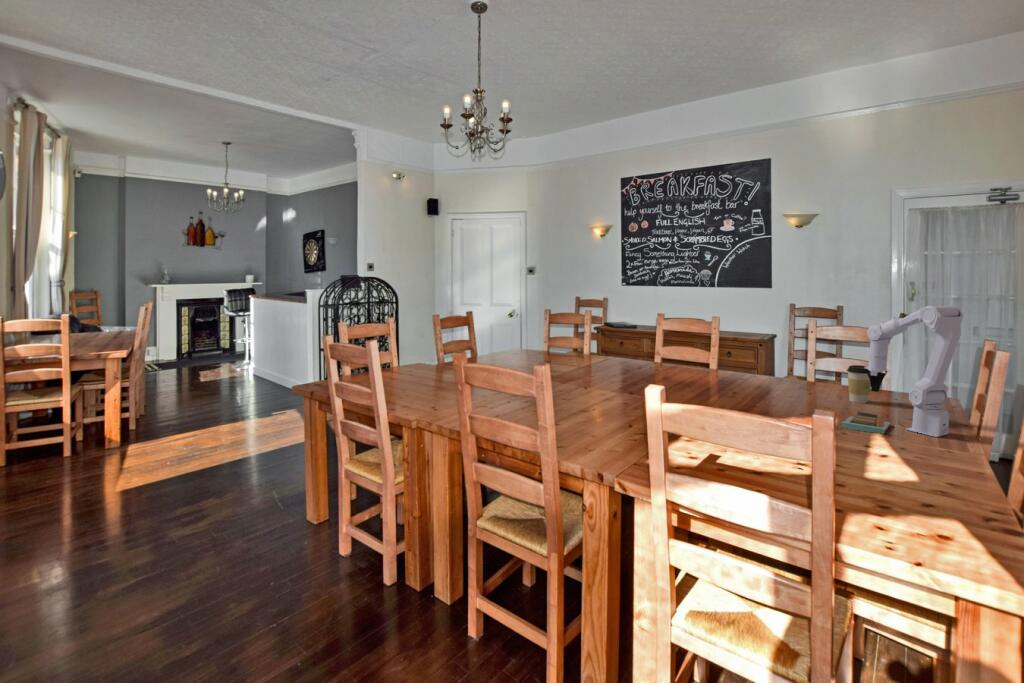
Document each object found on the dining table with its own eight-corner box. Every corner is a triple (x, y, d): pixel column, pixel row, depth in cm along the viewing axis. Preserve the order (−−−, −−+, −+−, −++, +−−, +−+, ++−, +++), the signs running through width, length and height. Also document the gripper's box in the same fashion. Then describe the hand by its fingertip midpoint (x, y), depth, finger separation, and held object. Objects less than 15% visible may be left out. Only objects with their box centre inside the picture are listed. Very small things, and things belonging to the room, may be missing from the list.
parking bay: (849, 419, 200) (850, 414, 200) (889, 425, 191) (890, 420, 191) (841, 427, 189) (841, 422, 189) (883, 434, 181) (883, 429, 181)
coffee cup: (877, 404, 221) (880, 369, 220) (853, 404, 222) (856, 369, 220) (862, 398, 231) (865, 364, 229) (839, 398, 231) (842, 365, 229)
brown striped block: (857, 423, 194) (858, 411, 194) (876, 426, 190) (877, 414, 189) (853, 427, 189) (854, 415, 188) (873, 431, 185) (874, 418, 184)
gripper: (869, 353, 210) (866, 386, 212) (862, 357, 200) (859, 393, 201) (890, 355, 206) (887, 389, 207) (884, 359, 195) (881, 395, 197)
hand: (875, 391), depth 204 cm, fingers closed
